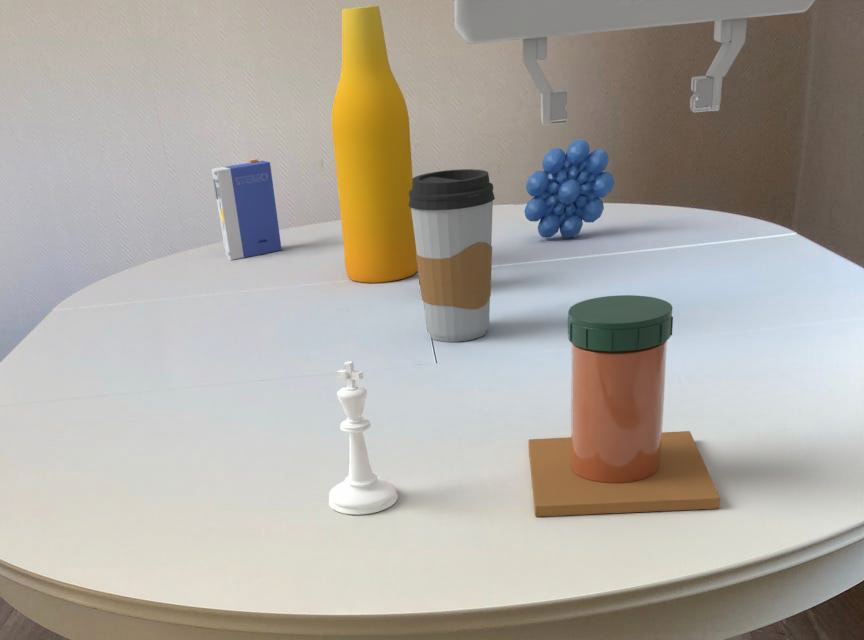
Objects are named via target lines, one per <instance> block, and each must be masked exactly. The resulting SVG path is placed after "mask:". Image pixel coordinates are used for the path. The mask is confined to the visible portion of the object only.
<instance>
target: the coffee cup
mask: <svg viewBox="0 0 864 640" xmlns="http://www.w3.org/2000/svg"><path fill="white" fill-rule="evenodd" d="M409 197H410V200H409V207H411V212H412V220H413V227H414V235H415V243H416V258H417V265H418V269H417V273H418V282H419V281H420V285H419V286H420V295H421V301H422V303H423V311H424V312H423V313H424V317H425V318H424V320H425V327H426V331H427V332H428V333H429V337H430V338H431V339H432V340H434V341H438V342H445V343H457V342H458V343H459V342H467V341H472V340H475V339H479V338H481V337H483V336H485V335H486V333H487V329H488V328H489V327H490V309H491V308H490V307H491V306H490V305H491V297H492V296H491V295H492V267H493V265H492V263H493V246H492V241H493V238H492V237H493V205H494V200H495V199H496V198H495V193H494V184H493V183H492V182H491V181H490V174H489V171H486V170H483V169H474V168H473V169H472V168H471V169H470V168H469V169H464V168H463V169H461V168H460V169H447V170H439V171H433V172H426V173H423V174H419V175H416V176H414V177H413V181H412V190H410V191H409Z"/></svg>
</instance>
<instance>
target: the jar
mask: <svg viewBox="0 0 864 640" xmlns="http://www.w3.org/2000/svg"><path fill="white" fill-rule="evenodd" d="M667 349H668V340H667V341H665V342H664V343H662V344H659V345H656V346H653V347H649V348H645V349H639V350H631V351H597V350H590V349H585V348H581V347H578V346H576V345H574V344H572V343H571V358H570V359H571V360H570V361H571V363H570V365H571V366H570V367H571V368H570V369H571V370H570V371H571V373H570V375H571V376H570V382H571V383H570V384H571V385H570V392H571V394H570V437H571V469H572V470H573V472H574V473H575V474H577V475H578V476H580V477H582V478H585V479H588V480H592V481H596V482H604V483H625V482H632V481H638V480H641V479H644V478H647V477H649V476H651V475H653V474H655V473H656V472H657V471H658V470H659V468H660V460H661V442H662V432H663V424H664V423H663V422H664V405H665V404H664V403H665V387H666V386H665V385H666V367H667V351H668V350H667Z"/></svg>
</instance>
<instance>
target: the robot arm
mask: <svg viewBox="0 0 864 640" xmlns="http://www.w3.org/2000/svg"><path fill="white" fill-rule="evenodd" d="M815 1H816V0H454V3H453V4H454V7H453V9H454V14H453V15H454V30H455V32H456V34H457V35H458V36H459V37H460V38H461V39H462V40H463V41H464V42H465V44H468V45H478V44H487V43H488V44H490V43H498V42H500V43H501V42H509V41H519V40H520V41H521V61H522V63H523V65H524V66H525V68H526V70H527V71H528V74H529V76H530V78H531V79H532V82H533V83H534V85H535V87H536V89H537V91H538V92H539V94H540V119H541V120H540V121H541V126H542V127H544V126H545V127H547V126H556V125H557V126H558V125H565V124H567V123H568V110H567V109H566V106H567V105H568V90H567V89H566V88H552V86H551V84H550V83H549V80H548V79H547V77H546V75H545V73H544V72H543V70H542V68H541V66H540V64H539V63H538V61H546V59H547V58H548V38H551V37H552V38H553V37H562V36H571V35H572V36H573V35H583V34H584V35H585V34H593V33H602V32H603V33H604V32H614V31H623V30H633V29H645V28H655V27H665V26H666V27H667V26H676V25H688V24H696V23H707V22H714V27H713V28H714V29H713V40H714V41H715V42H716V43H717V42H718V43H721V46H720V47H719V49H718V51H717V53H716V55H715V57H714V58H713V60H712V63H710V66H709V67H708V70H707V71H706V73H705V75H698V76H691V81H690V90H691V92H692V95H691V96H690V98H689V108H690V112H692V113H705V112H706V113H707V112H718V111H720V109H721V103H722V90H723V89H722V88H723V78H725V77H726V75H727V74H728V72H729V70H730V69H731V67H732V65H733V63H734V61H735V60H736V59H737V57H738V55H739V53H740V51H741V50H742V48H743V46H744V45H745V43H746V36H747V25H748V19H749V18H757V17H759V18H760V17H769V16H779V15H790V14H800V13H801V14H803V13H805V12H807V11H809V9H810V8H811V7H812V5H813V4H814V3H815Z"/></svg>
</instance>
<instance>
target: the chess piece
mask: <svg viewBox="0 0 864 640" xmlns="http://www.w3.org/2000/svg"><path fill="white" fill-rule="evenodd" d="M354 364H355V363H354V361H351V360H347V361H345V362H344V369H339V370H337V378H338V379H344V380H345V381H346V382H345V383H346V386H344V387H342V388H340V389H339V390H337V392H336V395H337V396H336V397H337V398H338V401H339V403H340V405H341V406H342V409H343V412H344V414H345V416H346V419H344V420H342V422H341V423H340V426H339V429H340V431H342V432H344V433H348V434H349V435H348V437H349V440H348V441H349V459H348V460H349V461H348V475H347V476H346V477H345V478H344V480H343V481H340V482H339V483H337V484H335V485H334V486H333V487H332V488H331V489H330V491H329V494H328V497H329V499H328V506H329V507H330V508H331V509H332V510H334V511H335V512H337V513H341V514H344V515H352V516H353V515H354V516H356V515H370V514H374V513H378V512H381V511H384V510H387V509H388V508H390V507H392V506H393V505H394V504H396V502H397V500H398V499H399V498H398V497H399V495H398V493H397V487H396V485H395V484H394V483H393V482H391V481H390V480H388V479H386V478H383V477H378V475H377V474H376V473H374V472H373V470H372V466H371V462H370V458H369V454H368V449H367V444H366V440H365V435H364V431H367V430H369V429H370V428H371V426H372V423H371V421H370V420H369V419H368V418H365V417H363V414H364V413H363V412H364V408H365V402H366V398H367V393H368V392H367V388H366V387H363V386H362V385H357V384H356V381H361V380H362V379H364V376H363V375H364V374H363V371H360V370H359V371H358V370H355V366H354Z"/></svg>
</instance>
